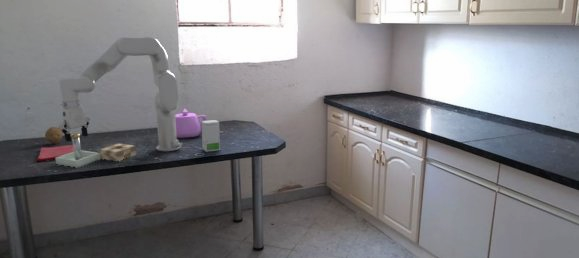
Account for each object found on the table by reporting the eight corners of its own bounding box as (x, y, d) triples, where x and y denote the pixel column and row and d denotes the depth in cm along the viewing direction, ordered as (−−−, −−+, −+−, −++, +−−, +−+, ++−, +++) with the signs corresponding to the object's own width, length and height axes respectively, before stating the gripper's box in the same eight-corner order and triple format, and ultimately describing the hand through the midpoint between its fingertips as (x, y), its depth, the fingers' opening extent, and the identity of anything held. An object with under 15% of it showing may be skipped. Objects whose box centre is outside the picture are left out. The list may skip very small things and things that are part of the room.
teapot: (208, 137, 257) (206, 112, 254) (171, 140, 253) (169, 114, 249) (206, 128, 279) (205, 105, 275) (172, 130, 275) (171, 107, 271)
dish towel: (36, 163, 214) (35, 158, 213) (40, 151, 235) (39, 146, 234) (74, 159, 221) (74, 154, 220) (75, 147, 242) (74, 142, 241)
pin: (85, 159, 215) (82, 133, 212) (78, 161, 211) (74, 135, 208) (79, 158, 217) (75, 132, 214) (72, 160, 213) (68, 134, 210)
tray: (100, 159, 218) (99, 153, 217) (77, 168, 205) (76, 161, 204) (80, 156, 223) (79, 150, 222) (56, 164, 211) (55, 157, 210)
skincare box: (205, 152, 229) (204, 123, 225) (202, 149, 234) (200, 121, 231) (220, 150, 233) (219, 121, 229) (217, 147, 238) (215, 119, 234)
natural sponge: (62, 145, 244) (59, 128, 241) (44, 147, 241) (42, 129, 239) (65, 141, 252) (62, 124, 250) (48, 142, 250) (45, 125, 247)
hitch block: (136, 154, 225) (135, 145, 224) (118, 161, 214) (117, 152, 213) (118, 152, 230) (117, 143, 228) (100, 158, 219) (99, 149, 218)
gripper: (61, 108, 198) (67, 144, 202) (91, 101, 213) (96, 134, 218) (49, 107, 201) (56, 142, 205) (80, 100, 216) (85, 133, 221)
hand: (77, 138), depth 212 cm, fingers open, 9 cm apart
